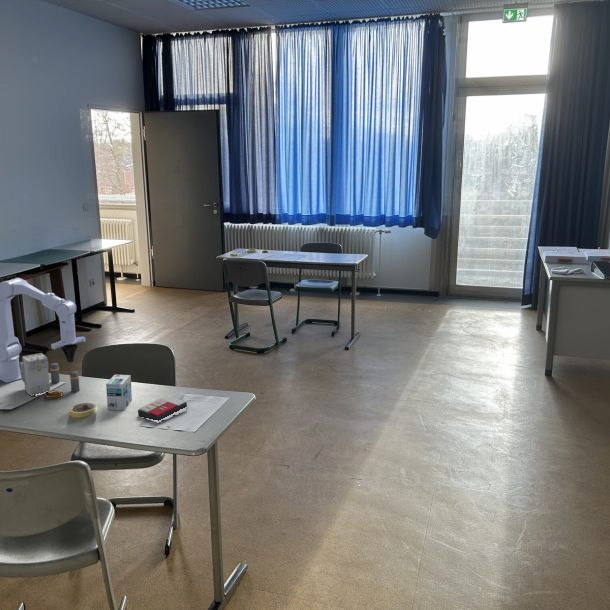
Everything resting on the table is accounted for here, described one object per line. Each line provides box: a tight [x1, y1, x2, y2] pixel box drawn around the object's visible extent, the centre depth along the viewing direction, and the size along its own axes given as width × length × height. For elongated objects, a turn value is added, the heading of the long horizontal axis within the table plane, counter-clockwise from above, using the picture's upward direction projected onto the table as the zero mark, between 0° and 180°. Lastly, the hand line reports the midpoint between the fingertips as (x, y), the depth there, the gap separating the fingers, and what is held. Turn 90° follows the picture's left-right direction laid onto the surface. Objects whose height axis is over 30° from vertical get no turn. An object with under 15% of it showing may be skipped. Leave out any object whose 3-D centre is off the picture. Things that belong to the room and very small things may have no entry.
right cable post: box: [69, 370, 80, 393], centre depth 248 cm, size 3×3×8 cm
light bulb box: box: [105, 374, 133, 411], centre depth 234 cm, size 11×7×11 cm, turn 179°
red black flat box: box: [137, 395, 188, 421], centre depth 229 cm, size 11×4×15 cm
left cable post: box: [49, 362, 61, 384], centre depth 256 cm, size 3×3×8 cm
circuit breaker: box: [19, 352, 51, 396], centre depth 247 cm, size 8×14×15 cm, turn 40°
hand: (70, 361), depth 253 cm, fingers closed
